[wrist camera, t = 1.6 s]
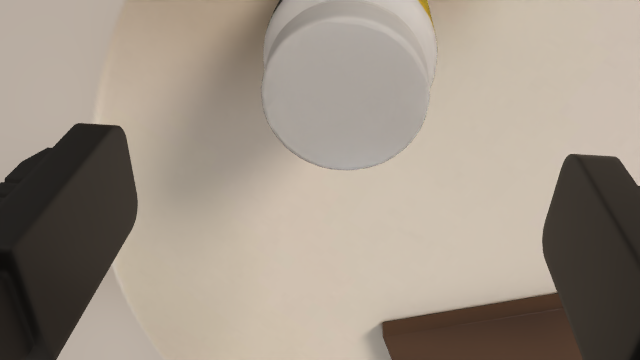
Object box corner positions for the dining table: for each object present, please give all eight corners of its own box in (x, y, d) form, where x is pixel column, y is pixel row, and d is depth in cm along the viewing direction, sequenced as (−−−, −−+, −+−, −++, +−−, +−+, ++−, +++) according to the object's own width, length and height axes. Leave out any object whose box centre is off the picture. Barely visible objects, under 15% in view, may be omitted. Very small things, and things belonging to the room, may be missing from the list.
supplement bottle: (301, -89, 19) (256, -25, 12) (440, -60, 19) (477, 20, 12) (282, 48, 21) (236, 165, 14) (403, 72, 22) (416, 200, 15)
